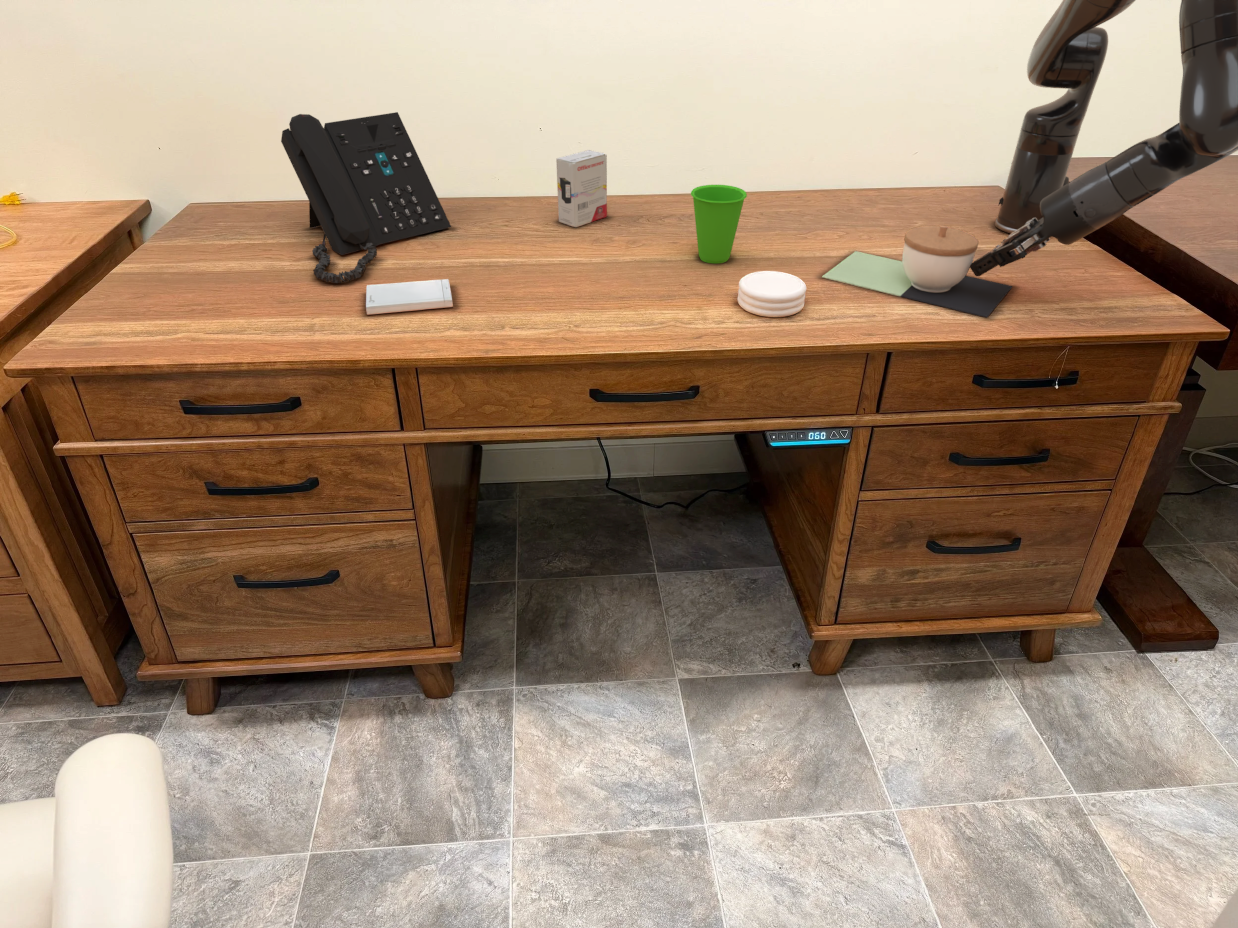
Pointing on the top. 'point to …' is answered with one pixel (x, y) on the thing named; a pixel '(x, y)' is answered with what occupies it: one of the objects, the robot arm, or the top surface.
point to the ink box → (582, 187)
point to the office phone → (361, 185)
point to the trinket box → (937, 256)
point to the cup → (716, 220)
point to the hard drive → (408, 296)
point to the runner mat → (893, 280)
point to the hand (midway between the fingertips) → (974, 270)
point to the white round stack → (771, 293)
